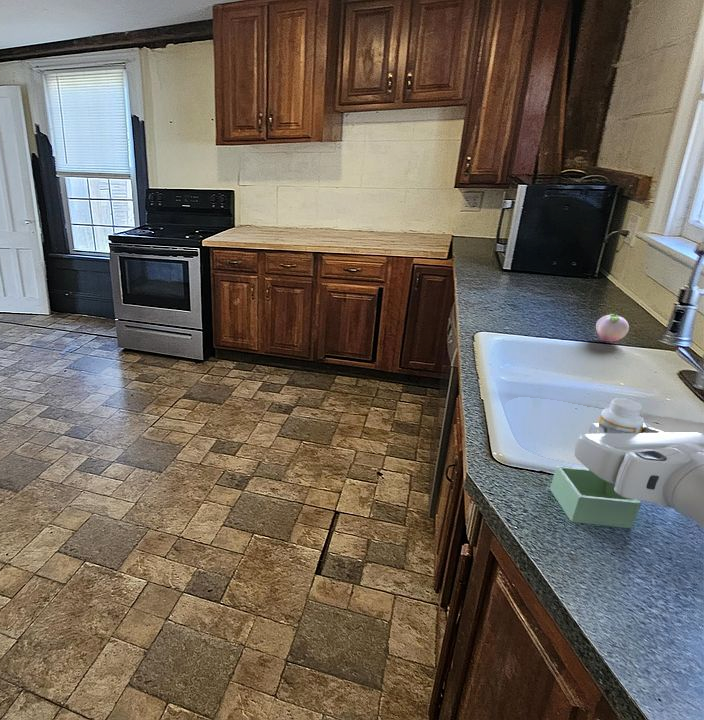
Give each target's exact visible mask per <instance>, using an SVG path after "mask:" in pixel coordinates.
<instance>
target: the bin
mask: <svg viewBox="0 0 704 720" xmlns="http://www.w3.org/2000/svg"><path fill="white" fill-rule="evenodd" d="M614 486H615V484H612V483H609V482H607V481H605V480H603V479H601V478H600V477H598V476H597V475H596V474H594V473H593V472H592V471H591V470H589V469H588V468H583V467H572V466H563V465H556V466H555V470H554V473H553V476H552V480H551V483H550V487H549V491H550V492H551V494H552V495H553V496H554V498H555V500H556V501H557V502H558V504H559V506H560V507H561V509H562V510H563V512H564V513H565V515H566V516H567V517H568V519H569V521H570V522H571V523H578V524H586V525H587V524H588V525H595V526H604V527H615V528H622V529H623V528H624V529H632V528H633V526H634V523H635V521H636V518H637V515H638V513H639V510H640V508H641V505H642V502H641V500H636V499H630V498H625V497H622V496H620V495H619V494H618V493H616V492H615V490H614Z"/></svg>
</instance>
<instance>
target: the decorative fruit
mask: <svg viewBox="0 0 704 720" xmlns="http://www.w3.org/2000/svg"><path fill="white" fill-rule="evenodd" d="M595 330H596V333H597V335H598V336H599V339H601V340H602V341H603V340H605V341H610V342H609V343H613V342H617V341H620V340H621V339H623V338H625V337H626V336H627V334H628V333H629V330H630V326H629V322H628V321H627V320H626V319H625V318H624V317H622V316H620V315H618V314H617V312H614V313H609V314H607V315H603V316H602V317H600V318H599V319H598V320H597V321H596V323H595ZM605 341H604V342H605Z"/></svg>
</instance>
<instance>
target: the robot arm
mask: <svg viewBox="0 0 704 720" xmlns="http://www.w3.org/2000/svg"><path fill="white" fill-rule="evenodd" d="M606 431H607V427H605V426H604V425H602V424H598V423H593V422H592V423H590V424H589V427H588V433H581V434H579V436H578V438H577V440H576V443H575V445H574V453H573V455H574V457H575V458H576V459H577V461H579V462H580V463H581V464H582V465H583V466H584V467H585V468H586V469H589V470H591V471H592V472H593V473H594V474H596V475H597V476H598V477H600V478H601V479H603V480H605V481H607V482H609V483H612V484H615V486H614V490H615V492H616V493H618V494H619V495H620V496H622V497H625V498H630V499H636V500H639V501H642V502H645V503H646V502H647V503H652V504H655V505H658V506H660V507H661V506H662V507H664V508H668V509H671V508H672V510H674V511H676V513H678V514H680V515H681V516H683V517H685V518H686V519H689V520H691V521H693V522H694V523H696V524H697V525H698V527H700V529H701V530H702V531H703V532H704V433H702V432H667V431H663V430H660V429H658V428H654V427H650V426H648V425H647V424H645V423H644V425H643V428H642V431H641V433H605V432H606Z"/></svg>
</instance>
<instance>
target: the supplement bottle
mask: <svg viewBox="0 0 704 720" xmlns="http://www.w3.org/2000/svg"><path fill="white" fill-rule="evenodd" d="M643 408H644V407H643V406H642V404H641V403H640V402H637V401H634V400H632V399H629V398H624V397H615V398H613V399H612V400H611V402H610V404H609V407H606V408H604V409H602V411H601V413H600V416H599V420H598V422H597V424H602V425H604V426H605V427H607V431H606V432H605V433H641V431H642V428H643V425H644V424H645V419H644V418H643V416H641V415H642V411H643Z"/></svg>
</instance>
